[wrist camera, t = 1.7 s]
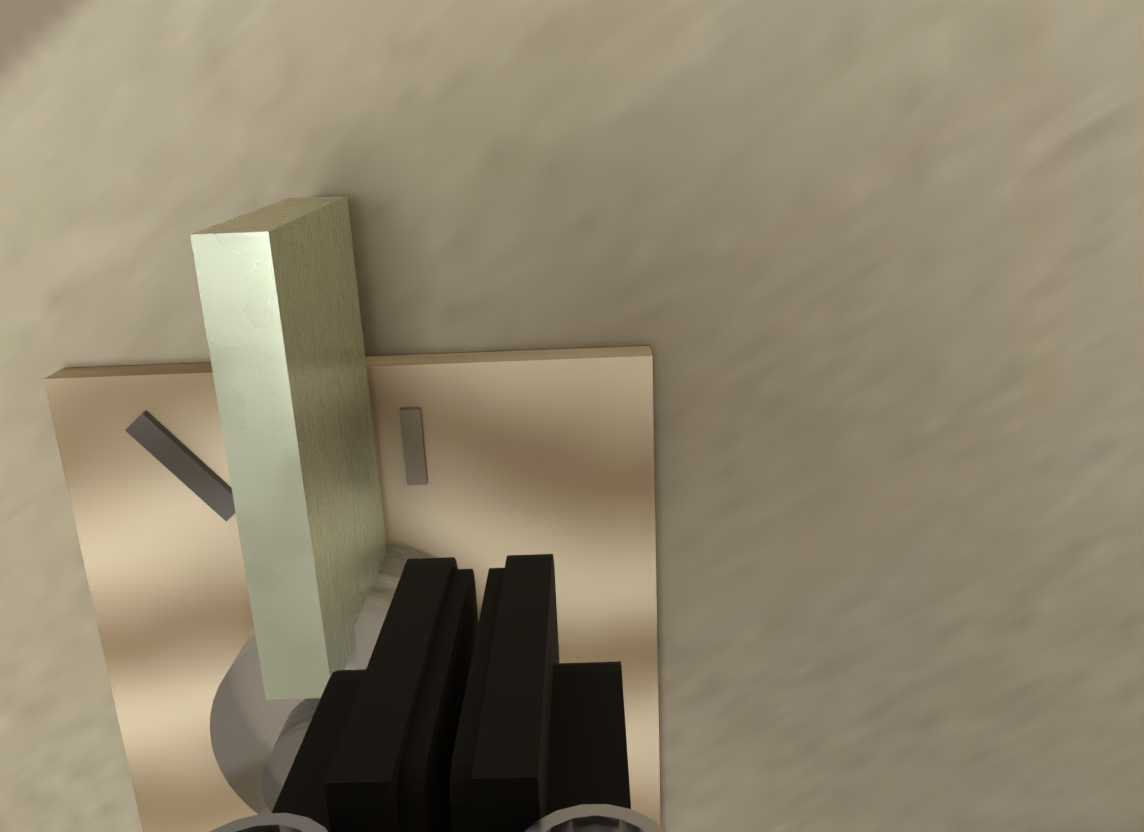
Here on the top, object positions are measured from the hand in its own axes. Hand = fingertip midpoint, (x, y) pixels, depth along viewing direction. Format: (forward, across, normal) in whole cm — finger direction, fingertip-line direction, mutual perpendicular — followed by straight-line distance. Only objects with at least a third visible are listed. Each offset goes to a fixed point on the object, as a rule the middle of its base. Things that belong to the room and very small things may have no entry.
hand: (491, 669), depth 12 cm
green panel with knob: (+18, +6, +5) cm, 19 cm away
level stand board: (+19, +6, +10) cm, 22 cm away
